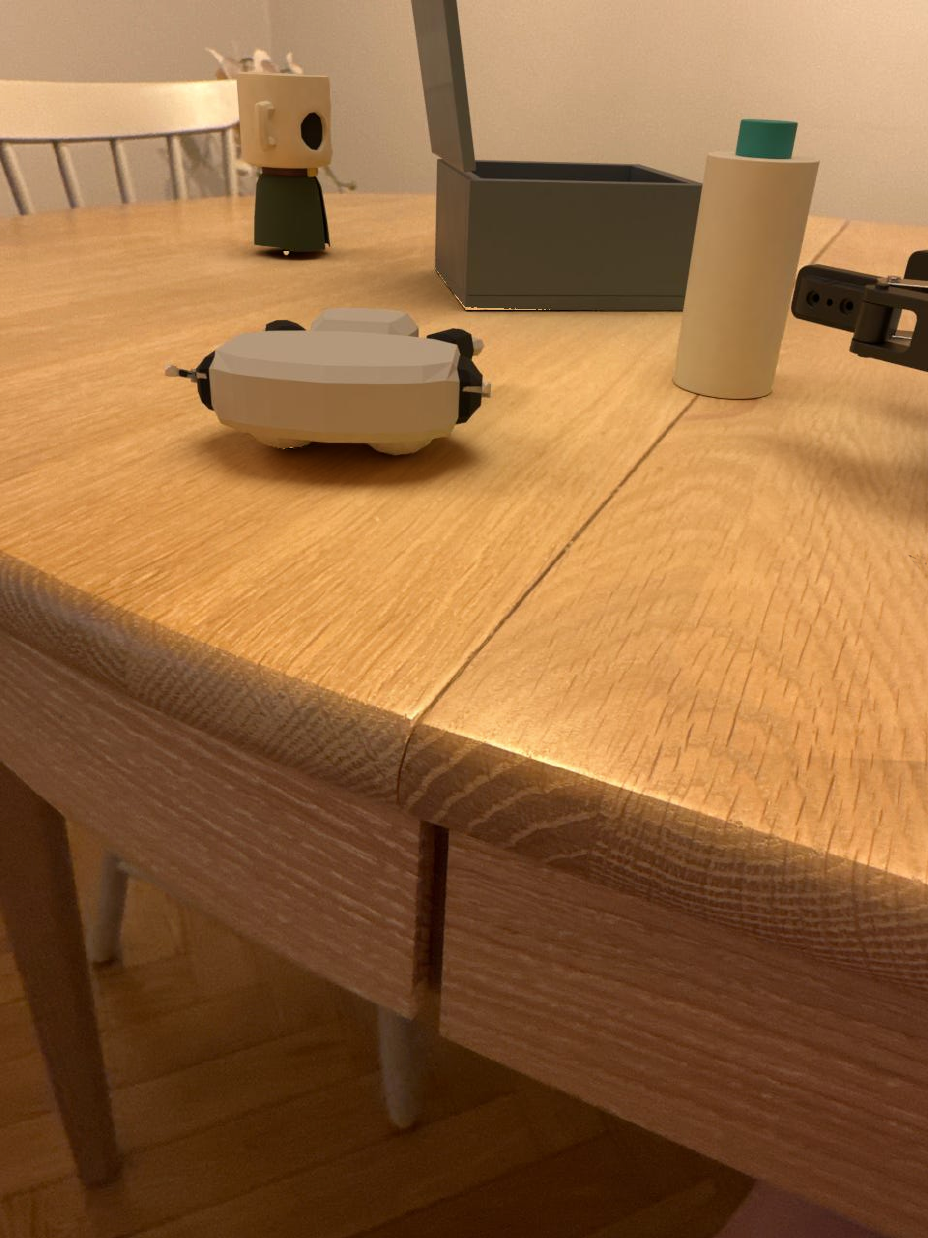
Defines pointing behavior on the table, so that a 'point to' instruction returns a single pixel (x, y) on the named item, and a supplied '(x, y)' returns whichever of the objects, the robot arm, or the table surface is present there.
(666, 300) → the dark grey open box
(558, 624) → the table surface
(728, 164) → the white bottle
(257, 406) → the robot toy
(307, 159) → the beige and green figure
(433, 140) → the lid
